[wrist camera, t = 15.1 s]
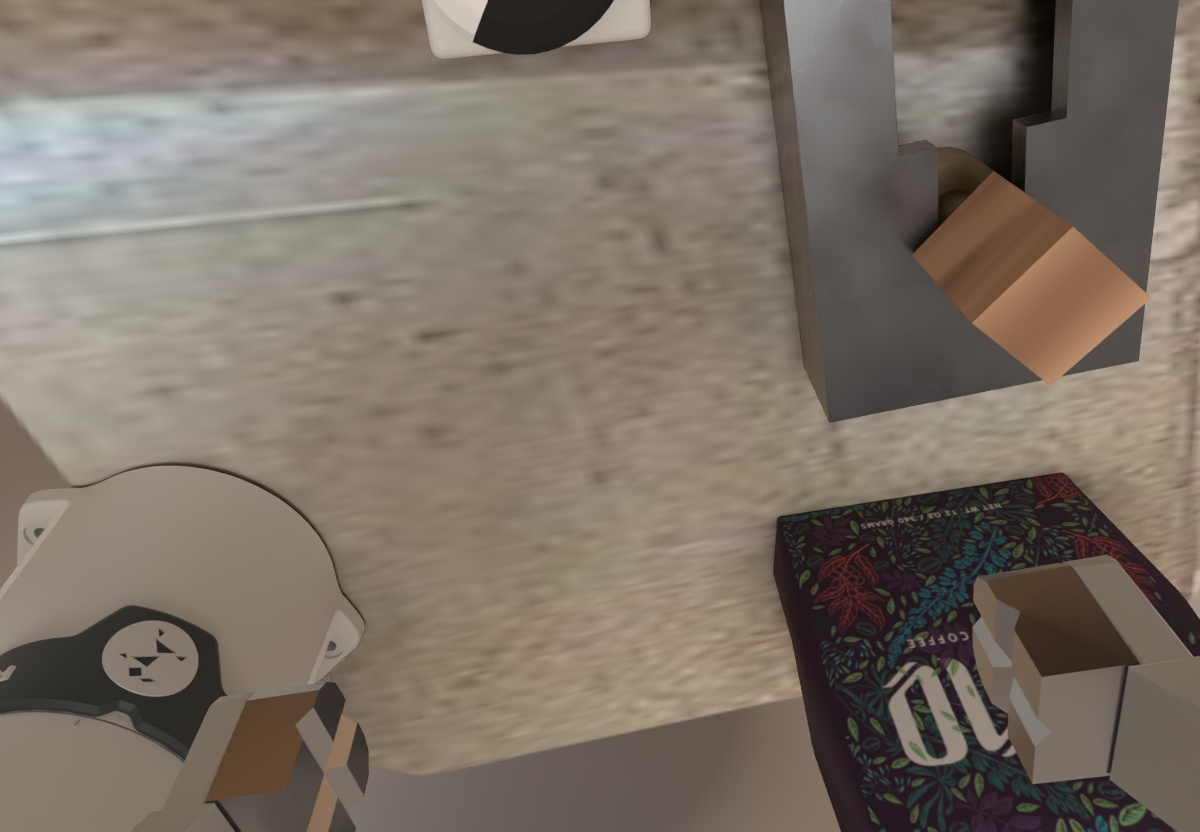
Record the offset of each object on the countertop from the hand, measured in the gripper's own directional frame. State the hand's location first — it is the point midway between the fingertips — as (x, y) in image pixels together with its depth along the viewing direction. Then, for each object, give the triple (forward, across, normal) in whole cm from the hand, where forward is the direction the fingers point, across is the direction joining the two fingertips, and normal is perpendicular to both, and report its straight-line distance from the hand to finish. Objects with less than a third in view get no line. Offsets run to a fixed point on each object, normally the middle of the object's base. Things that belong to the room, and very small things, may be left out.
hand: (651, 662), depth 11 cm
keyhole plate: (+29, -13, +3) cm, 32 cm away
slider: (+29, -14, +6) cm, 33 cm away
